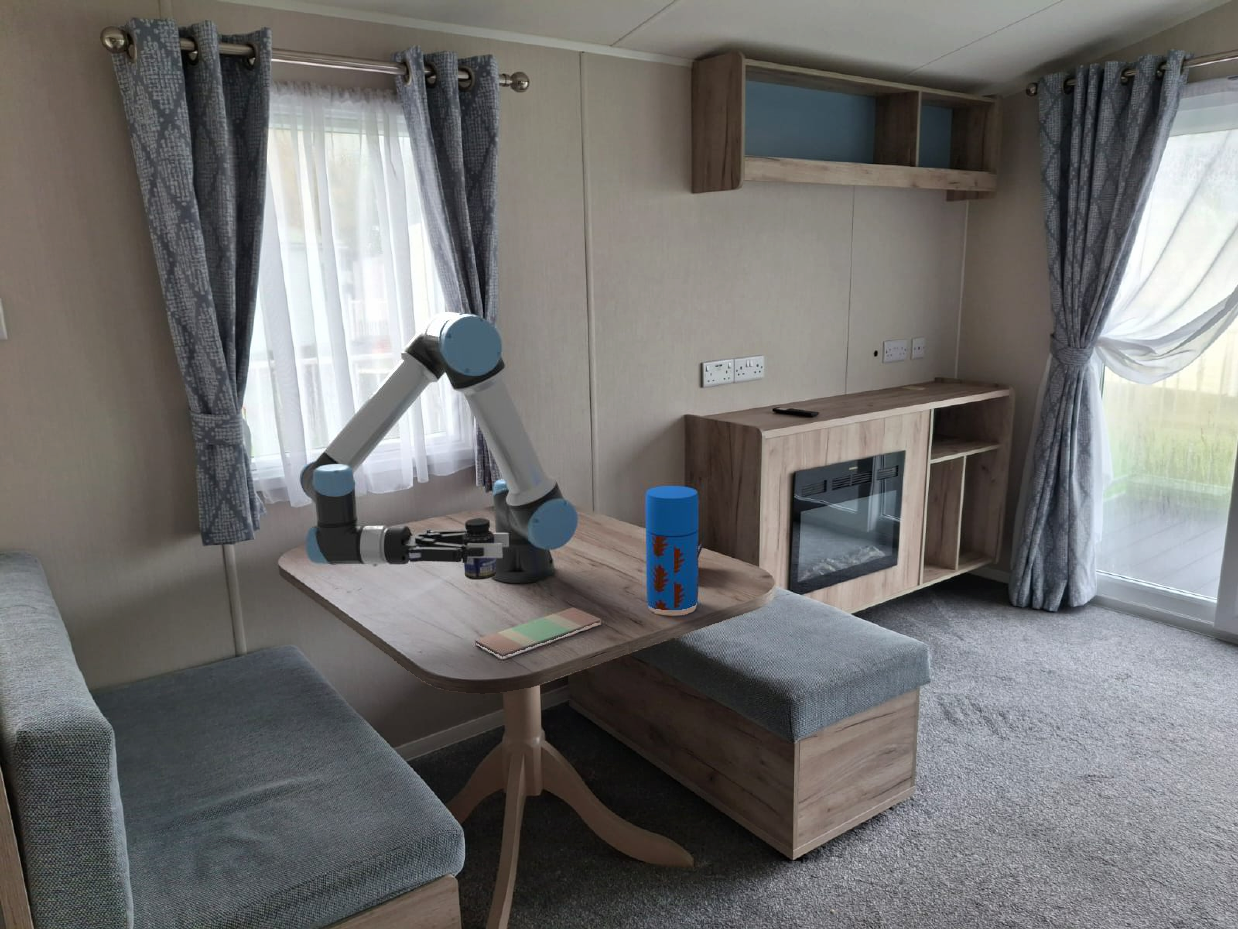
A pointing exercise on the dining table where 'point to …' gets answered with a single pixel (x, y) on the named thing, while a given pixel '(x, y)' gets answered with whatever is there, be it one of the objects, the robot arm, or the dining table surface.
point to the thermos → (672, 547)
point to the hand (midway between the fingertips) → (504, 545)
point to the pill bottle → (479, 534)
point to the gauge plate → (537, 631)
